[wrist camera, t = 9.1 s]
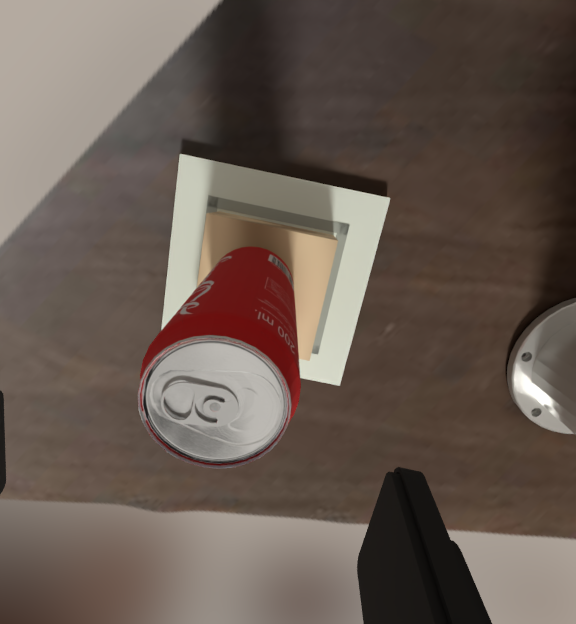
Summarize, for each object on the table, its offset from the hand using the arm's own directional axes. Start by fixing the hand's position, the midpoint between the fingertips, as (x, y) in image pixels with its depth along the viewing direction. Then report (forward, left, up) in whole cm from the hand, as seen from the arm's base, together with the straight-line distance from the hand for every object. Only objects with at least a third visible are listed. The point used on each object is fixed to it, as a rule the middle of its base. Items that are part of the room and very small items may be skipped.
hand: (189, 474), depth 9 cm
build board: (0, 0, -23) cm, 23 cm away
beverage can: (+1, 0, -18) cm, 18 cm away
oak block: (0, 0, -22) cm, 22 cm away
